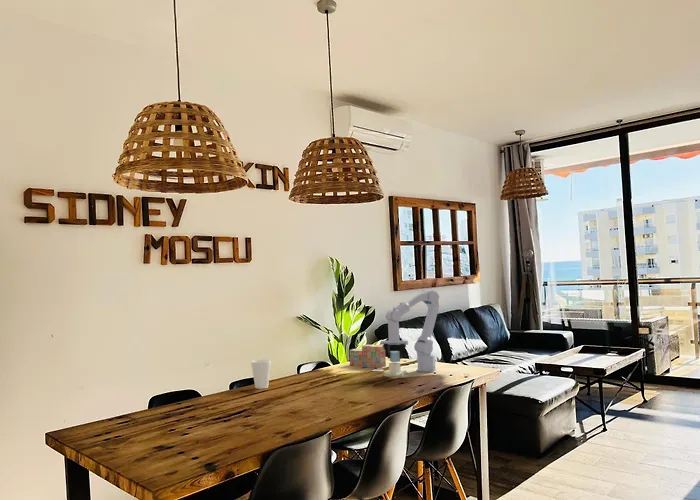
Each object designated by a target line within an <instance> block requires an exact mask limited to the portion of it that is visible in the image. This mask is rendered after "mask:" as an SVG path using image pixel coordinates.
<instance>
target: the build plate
mask: <svg viewBox="0 0 700 500" xmlns="http://www.w3.org/2000/svg"><path fill="white" fill-rule="evenodd" d="M407 372H408V371H407V370H401V372H400V373H397V374H395V373H389V370H388V371H386V372H385V373H384V374H383V377H401V378H402V377H404V376H405V375H407V374H408V373H407Z"/></svg>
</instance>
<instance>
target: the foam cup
mask: <svg viewBox="0 0 700 500" xmlns="http://www.w3.org/2000/svg"><path fill="white" fill-rule="evenodd" d="M250 363H251V364H250V365H251V369H252V375H253V381H254V388H255V389H259V390H261V389H268V387H269V385H270V384H269V383H270V373H271V372H270V371H271V365H272V360H271V359H266V358H263V359H253V360H251V362H250Z"/></svg>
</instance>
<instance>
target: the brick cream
mask: <svg viewBox="0 0 700 500" xmlns="http://www.w3.org/2000/svg"><path fill="white" fill-rule="evenodd" d="M401 368H402V367H401V362H389V363H388V371H389V373H395V374H397V373H400V372H401V371H402V369H401Z"/></svg>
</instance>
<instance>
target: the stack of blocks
mask: <svg viewBox="0 0 700 500" xmlns="http://www.w3.org/2000/svg"><path fill="white" fill-rule="evenodd" d="M383 346H384V345H381V344H365V345H362V346H361V348H352V349H349V351H348V353H349V366H350V367H351V366H352V367H363V368H373V369H382V368H385V367H386V366H387V364H386V363H387V362H386V358H387V354H386V351H385V349H384V347H383Z"/></svg>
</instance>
